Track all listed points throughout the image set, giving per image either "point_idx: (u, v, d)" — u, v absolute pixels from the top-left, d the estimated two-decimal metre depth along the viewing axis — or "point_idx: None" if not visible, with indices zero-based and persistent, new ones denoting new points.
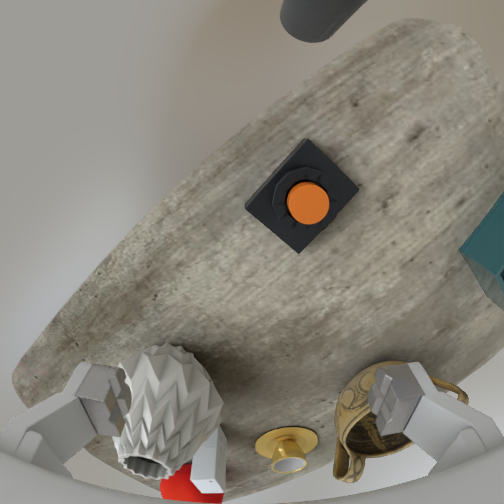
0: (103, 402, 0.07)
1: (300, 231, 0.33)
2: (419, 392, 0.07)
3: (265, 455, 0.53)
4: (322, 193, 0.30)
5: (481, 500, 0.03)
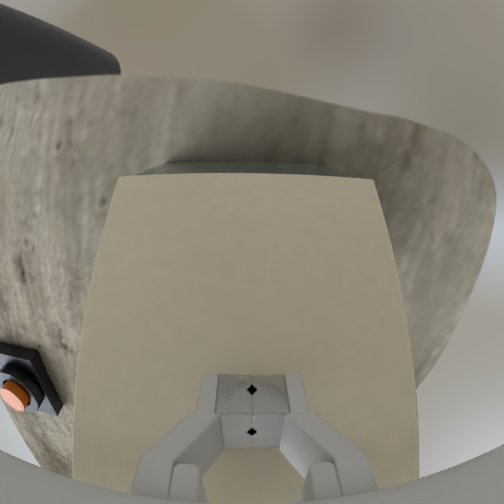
0: (251, 414, 0.07)
1: (33, 410, 0.29)
2: (283, 409, 0.07)
3: None
4: (7, 391, 0.26)
5: (481, 500, 0.03)
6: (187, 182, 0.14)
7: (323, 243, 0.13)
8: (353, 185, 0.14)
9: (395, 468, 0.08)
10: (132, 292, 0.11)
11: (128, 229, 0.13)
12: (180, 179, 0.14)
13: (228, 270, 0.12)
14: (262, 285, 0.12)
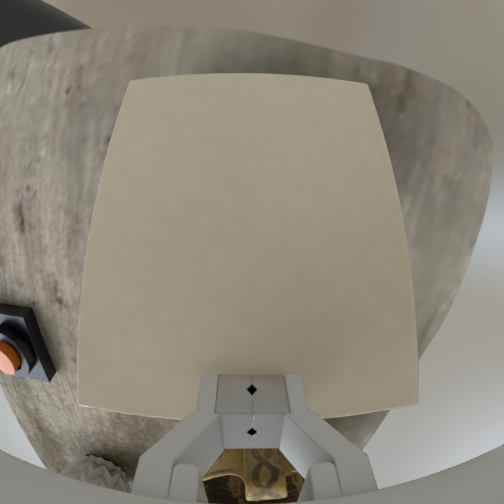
0: (251, 414, 0.07)
1: (24, 375, 0.29)
2: (283, 408, 0.07)
3: None
4: None
5: (481, 500, 0.03)
6: (194, 80, 0.14)
7: (320, 129, 0.13)
8: (348, 86, 0.14)
9: (394, 344, 0.10)
10: (143, 171, 0.12)
11: (139, 120, 0.13)
12: (188, 79, 0.14)
13: (232, 148, 0.12)
14: (264, 160, 0.12)
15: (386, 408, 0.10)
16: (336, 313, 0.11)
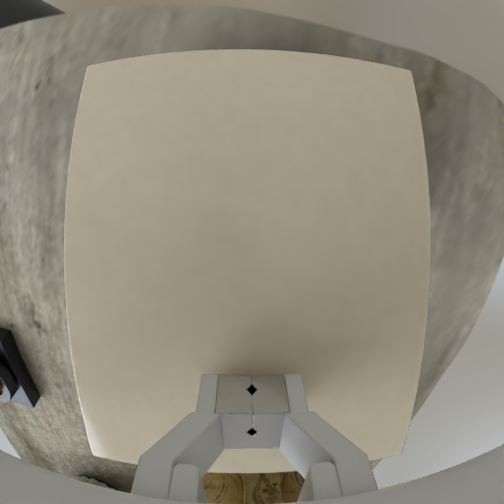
0: (251, 414, 0.07)
1: (6, 400, 0.24)
2: (283, 408, 0.07)
3: None
4: None
5: (481, 500, 0.03)
6: (173, 64, 0.09)
7: (346, 148, 0.10)
8: (387, 75, 0.10)
9: (391, 410, 0.10)
10: (113, 216, 0.09)
11: (102, 134, 0.09)
12: (164, 61, 0.09)
13: (227, 182, 0.09)
14: (269, 202, 0.09)
15: (372, 459, 0.10)
16: (338, 388, 0.10)
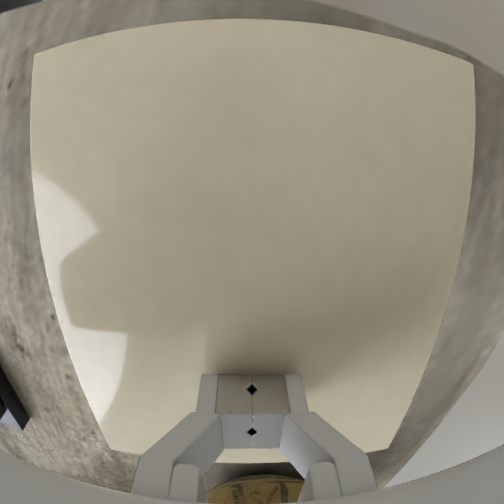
0: (251, 414, 0.07)
1: None
2: (283, 408, 0.07)
3: None
4: None
5: (481, 500, 0.03)
6: (146, 45, 0.06)
7: (381, 174, 0.07)
8: (444, 69, 0.06)
9: (383, 420, 0.10)
10: (95, 256, 0.08)
11: (64, 154, 0.07)
12: (134, 41, 0.06)
13: (227, 219, 0.08)
14: (279, 242, 0.08)
15: None
16: (336, 407, 0.10)
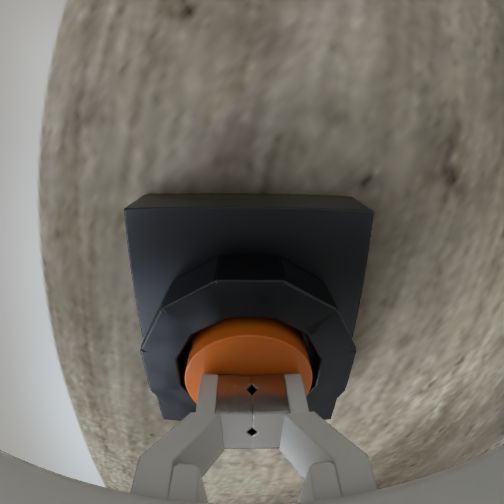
0: (251, 414, 0.07)
1: None
2: (283, 408, 0.07)
3: None
4: (257, 345, 0.09)
5: (481, 500, 0.03)
6: None
7: None
8: None
9: None
10: None
11: None
12: None
13: None
14: None
15: None
16: None
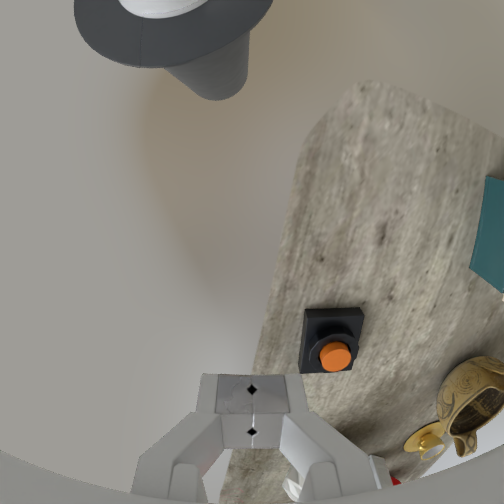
0: (251, 414, 0.07)
1: None
2: (283, 408, 0.07)
3: (416, 450, 0.58)
4: (340, 351, 0.38)
5: (481, 500, 0.03)
6: None
7: None
8: None
9: None
10: None
11: None
12: None
13: None
14: None
15: None
16: None
